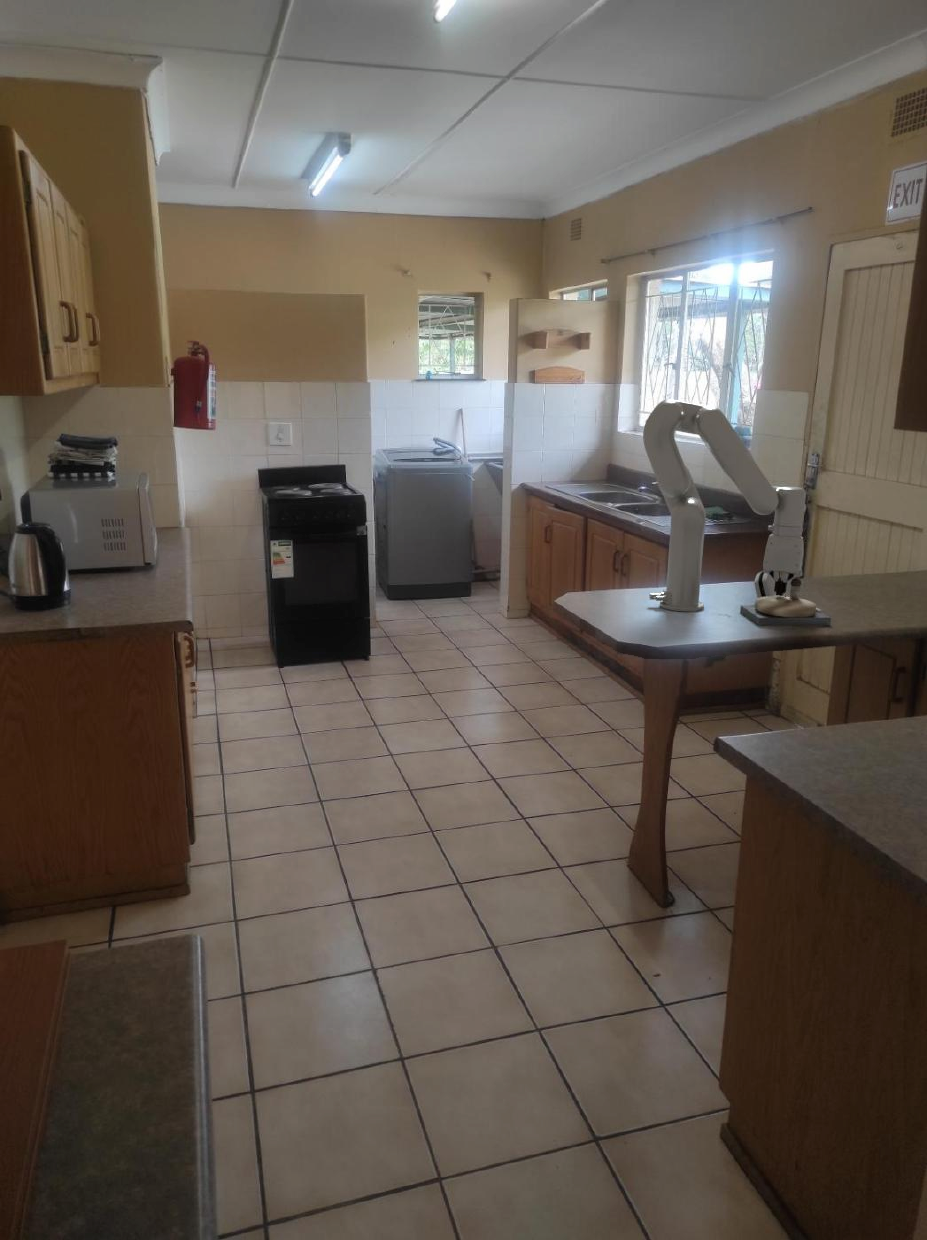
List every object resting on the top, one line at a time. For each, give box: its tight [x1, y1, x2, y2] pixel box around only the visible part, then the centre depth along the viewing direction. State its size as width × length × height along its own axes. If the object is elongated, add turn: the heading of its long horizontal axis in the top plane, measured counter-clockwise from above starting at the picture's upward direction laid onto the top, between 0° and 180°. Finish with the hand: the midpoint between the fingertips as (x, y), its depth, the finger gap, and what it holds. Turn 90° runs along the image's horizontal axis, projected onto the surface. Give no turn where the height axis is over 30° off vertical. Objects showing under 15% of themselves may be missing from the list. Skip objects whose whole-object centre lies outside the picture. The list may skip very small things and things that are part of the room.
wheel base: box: [739, 604, 832, 627], centre depth 244 cm, size 20×14×3 cm
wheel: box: [754, 577, 817, 617], centre depth 243 cm, size 16×16×8 cm
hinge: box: [753, 570, 787, 599], centre depth 266 cm, size 17×5×10 cm, turn 150°
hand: (779, 594), depth 250 cm, fingers closed
